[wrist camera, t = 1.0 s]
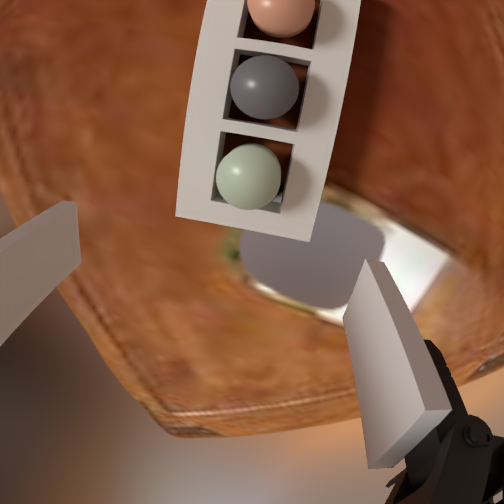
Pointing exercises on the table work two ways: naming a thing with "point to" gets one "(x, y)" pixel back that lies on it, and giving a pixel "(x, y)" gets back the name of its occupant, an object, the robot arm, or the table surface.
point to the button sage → (249, 176)
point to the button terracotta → (281, 16)
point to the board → (303, 138)
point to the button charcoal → (264, 87)
